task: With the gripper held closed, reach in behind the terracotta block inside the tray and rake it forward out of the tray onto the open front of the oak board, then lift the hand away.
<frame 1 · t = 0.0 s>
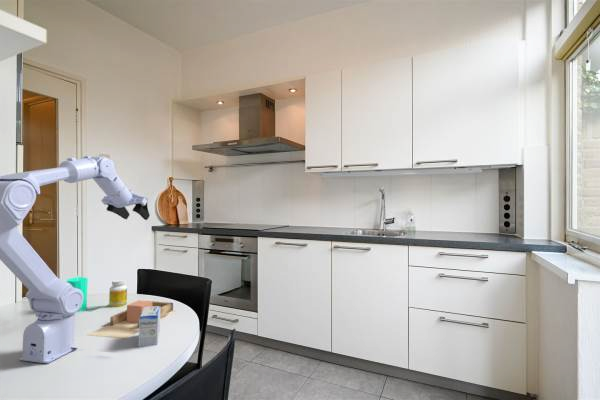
hand: (137, 217, 104), 32 cm above the table, tool tilted 50°, fingers open, 7 cm apart
supplement bottle: (117, 308, 109), on the table
medicine box: (149, 344, 81), on the table
tray: (136, 324, 94), on the table
block: (139, 319, 95), point 1 cm above the table, touching tray
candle: (76, 310, 106), on the table
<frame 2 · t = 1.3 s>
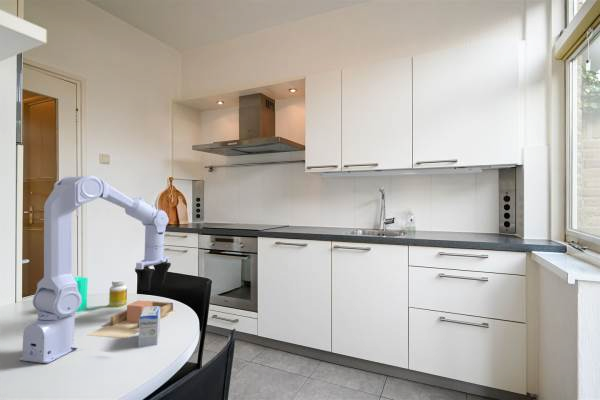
hand: (153, 287, 102), 9 cm above the table, tool pointing down, fingers open, 7 cm apart
nothing on the table moved.
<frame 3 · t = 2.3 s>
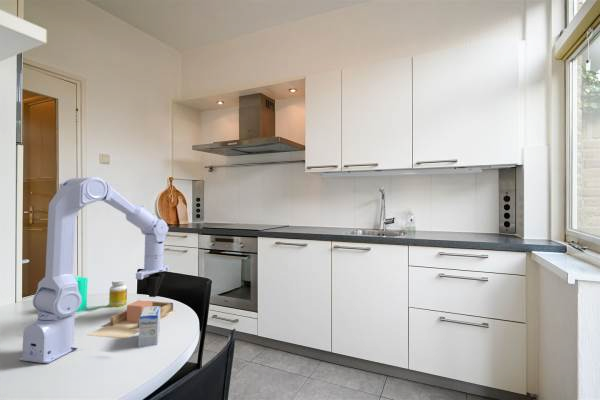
hand: (153, 296, 102), 6 cm above the table, tool pointing down, fingers closed
nothing on the table moved.
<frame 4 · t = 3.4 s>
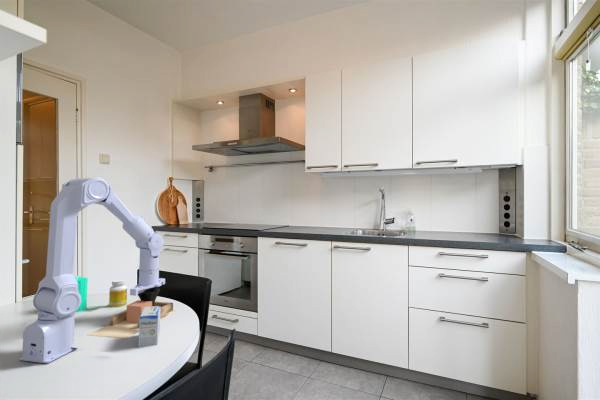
hand: (148, 312, 99), 2 cm above the table, tool pointing down, fingers closed
block: (139, 319, 95), point 1 cm above the table, touching tray, gripper
everything else where it was.
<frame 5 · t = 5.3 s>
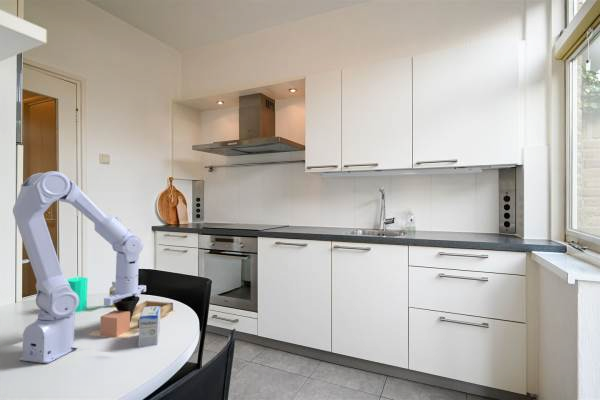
hand: (125, 323, 90), 2 cm above the table, tool pointing down, fingers closed
block: (115, 332, 86), point 1 cm above the table, touching tray, gripper
everything else where it was.
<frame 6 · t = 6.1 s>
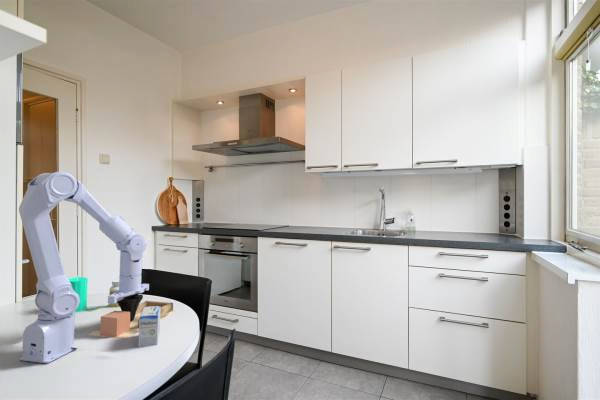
hand: (129, 320, 91), 2 cm above the table, tool pointing down, fingers closed
block: (115, 332, 86), point 1 cm above the table, touching tray
everything else where it was.
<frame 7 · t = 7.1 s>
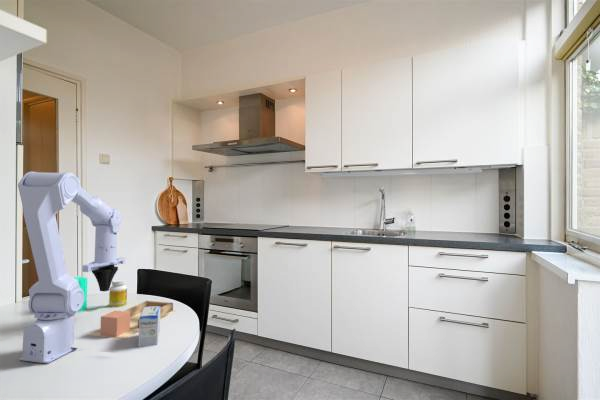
hand: (104, 290, 96), 9 cm above the table, tool pointing down, fingers closed
nothing on the table moved.
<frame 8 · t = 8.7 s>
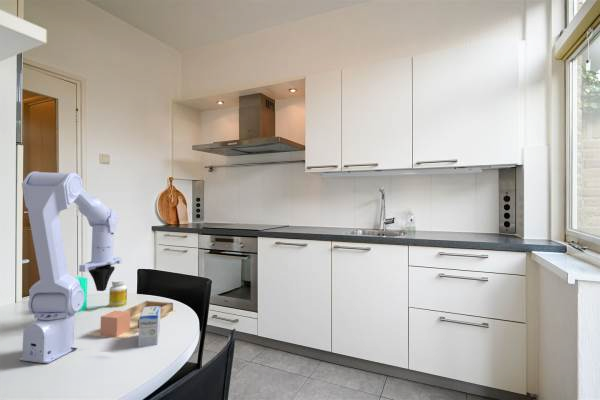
hand: (101, 290, 97), 9 cm above the table, tool pointing down, fingers closed
nothing on the table moved.
at the end: block 0.2 cm from the target spot, point 1.0 cm above the table; block tilted 0°; medicine box moved 0.3 cm from its start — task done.
